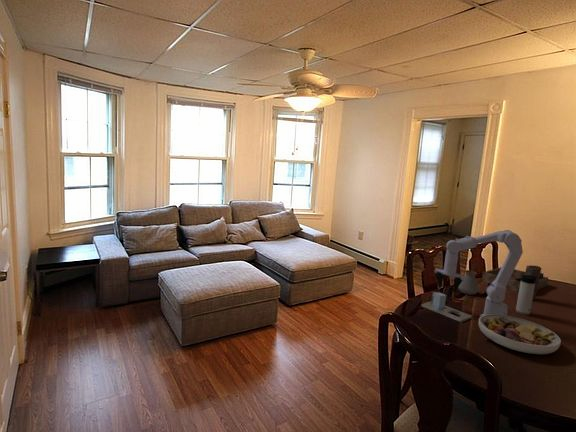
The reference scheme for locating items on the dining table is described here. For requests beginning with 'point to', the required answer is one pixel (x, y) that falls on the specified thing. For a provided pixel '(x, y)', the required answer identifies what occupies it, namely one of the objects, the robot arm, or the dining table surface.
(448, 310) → the panel
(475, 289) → the coffee pot
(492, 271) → the stereo stand
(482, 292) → the dining table surface
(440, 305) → the plug
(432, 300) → the plug
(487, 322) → the bowl
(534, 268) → the dark grey canister
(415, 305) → the dining table surface
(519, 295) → the travel mug
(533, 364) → the dining table surface
